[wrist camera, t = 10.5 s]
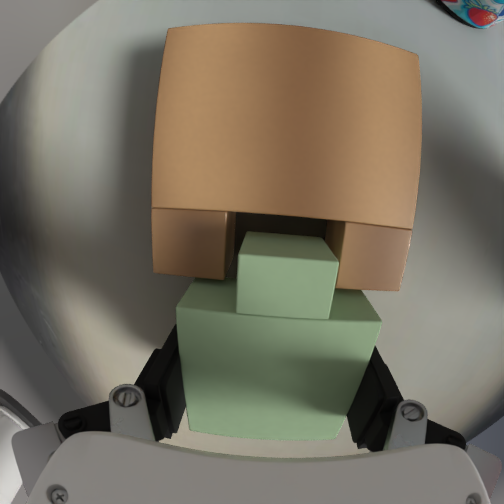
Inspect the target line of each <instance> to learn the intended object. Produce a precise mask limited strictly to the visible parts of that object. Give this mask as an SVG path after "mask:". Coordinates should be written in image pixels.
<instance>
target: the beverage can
mask: <svg viewBox="0 0 504 504" xmlns="http://www.w3.org/2000/svg"><path fill="white" fill-rule="evenodd" d="M436 1H437V2H438V3H439V4H440V5H441V6H442V7H443V8H444V9H445V10H446V11H448V12H449V13H450V14H451V15H452V16H454V17H455V18H456V19H458V20H459V21H461V22H462V23H464V24H466V25H468V26H470V27H473V28H478V29H485V28H489V27H491V26H493V25H495V24H497V23H499V22H501V21H503V20H504V0H436Z"/></svg>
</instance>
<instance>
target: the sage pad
mask: <svg viewBox="0 0 504 504" xmlns="http://www.w3.org/2000/svg"><path fill="white" fill-rule="evenodd" d="M338 266H339V261H338V260H337V258H336V257H335V256H334V254H333V253H332V251H331V250H330V249H329V247H328V246H327V244H326V243H325V242H324V240H323V239H322V238H321V237H311V236H299V235H287V234H275V233H263V232H249V231H248V232H247V233H246V235H245V238H244V240H243V243H242V246H241V249H240V251H239V254H238V266H237V278H226V277H225V279H224V280H218V279H207V278H197V277H195V279H194V280H193V282H192V283H191V285H190V286H189V288H188V289H187V291H186V292H185V294H184V295H183V297H182V298H181V300H180V301H179V303H178V305H177V306H176V322H177V334H178V345H179V354H180V362H181V371H182V379H183V387H184V394H185V401H186V410H187V416H188V423H189V429H190V430H191V431H196V432H202V433H208V434H215V435H222V436H230V437H239V438H251V439H265V440H330V439H335V438H336V436H337V434H338V432H339V430H340V428H341V426H342V424H343V422H344V420H345V418H346V416H347V413H348V411H349V409H350V407H351V404H352V402H353V400H354V397H355V395H356V393H357V390H358V388H359V386H360V383H361V381H362V378H363V376H364V373H365V370H366V368H367V366H368V363H369V360H370V358H371V355H372V352H373V349H374V346H375V343H376V340H377V337H378V334H379V331H380V328H381V325H382V320H381V319H380V317H379V316H378V314H377V313H376V311H375V310H374V308H373V307H372V305H371V304H370V302H369V301H368V299H367V298H366V296H365V295H364V293H363V292H362V291H361V290H357V289H338V288H335V283H336V278H337V272H338Z"/></svg>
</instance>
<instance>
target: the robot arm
mask: <svg viewBox="0 0 504 504" xmlns="http://www.w3.org/2000/svg"><path fill="white" fill-rule="evenodd" d="M185 407H186V401H185V394H184V387H183V379H182V371H181V362H180V354H179V345H178V334H177V324H175V326H174V328H173V329H172V331H171V333H170V335H169V336H168V338H167V340H166V342H165V343H164V345H163V347H162V349H155V350H154V351H153V353H152V355H151V356H150V358H149V360H148V361H147V363H146V365H145V366H144V368H143V370H142V372H141V373H140V375H139V377H138V378H137V380H136V382H135V384H134V385H132V384H123V385H119V386H117V387H115V388H114V389H113V390H112V391H111V392H110V394H109V401H106V402H102V403H99V404H95V405H92V406H88V407H85V408H81V409H77V410H74V411H69V412H67V413H65V414H63V415H62V416H61V417H60V419H59V422H58V423H56V424H54V423H53V422H49V423H46V424H42V425H39V426H36V427H32V428H30V427H29V426H28V425H27V424H26V423H25V422H24V421H23V420H21V419H20V418H19V417H18V416H17V415H16V414H15V413H13V412H12V411H11V410H9V409H8V408H6V407H4V406H0V504H11V502H12V501H13V499H14V497H15V495H16V494H17V492H18V490H19V488H20V487H21V485H22V483H23V484H24V487H25V490H26V492H27V495H28V500H27V502H26V504H491V503H490V497H491V495H492V493H493V490H494V488H495V485H496V483H497V480H498V477H499V474H500V471H501V467H502V464H501V461H500V459H499V458H498V457H496V456H494V455H492V454H490V453H488V452H486V451H484V450H482V449H480V448H478V447H476V446H474V445H472V444H469V445H468V446H467V445H466V441H465V439H464V437H463V436H462V435H461V434H460V433H458V432H456V431H453V430H451V429H449V428H446V427H444V426H442V425H440V424H437V423H435V422H433V421H431V420H429V419H427V416H428V414H427V410H426V408H425V406H424V405H423V404H421V403H420V402H418V401H415V400H404V399H403V397H402V395H401V393H400V391H399V389H398V387H397V385H396V383H395V381H394V379H393V377H392V375H391V373H390V371H389V369H388V367H387V365H386V364H384V362H383V360H382V358H381V356H380V354H379V352H378V350H377V348H376V346H374V349H373V352H372V355H371V358H370V360H369V363H368V366H367V368H366V370H365V373H364V376H363V378H362V381H361V383H360V386H359V388H358V390H357V393H356V395H355V397H354V400H353V402H352V404H351V407H350V409H349V411H348V413H347V419H348V423H349V427H350V431H351V436H352V440H353V442H354V443H357V447H358V449H361V448H367V449H368V450H370V452H369V453H364V454H356V455H347V456H335V457H319V458H267V457H250V456H239V455H229V454H221V453H213V452H206V451H200V450H194V449H189V448H184V447H178V446H173V445H169V444H164V443H160V442H159V440H162V439H164V437H165V438H169V439H171V436H172V433H177V431H178V428H179V425H180V422H181V419H182V416H183V413H184V410H185Z"/></svg>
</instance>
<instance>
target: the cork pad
mask: <svg viewBox="0 0 504 504" xmlns="http://www.w3.org/2000/svg"><path fill="white" fill-rule="evenodd" d="M421 141H422V99H421V80H420V68H419V58H418V55H417V54H415V53H412V52H409V51H406V50H403V49H400V48H397V47H394V46H391V45H388V44H385V43H381V42H378V41H374V40H370V39H367V38H363V37H358V36H354V35H350V34H345V33H340V32H335V31H329V30H323V29H317V28H310V27H302V26H293V25H282V24H265V23H220V24H204V25H193V26H183V27H176V28H169V29H168V31H167V36H166V41H165V47H164V53H163V59H162V65H161V72H160V79H159V87H158V95H157V104H156V114H155V126H154V139H153V157H152V187H151V206H152V207H153V208H152V209H151V229H152V257H153V272H154V273H158V274H168V275H177V276H187V277H197V278H207V279H218V280H224V279H225V277H226V274H227V272H228V269H229V267H230V264H231V262H232V259H233V257H234V244H235V224H236V212H246V213H260V214H273V215H285V216H296V217H307V218H318V219H328V220H327V228H326V236H325V243H326V244H327V246H328V247H329V249H330V250H331V251H332V253H333V254H334V256H335V257H336V258H337V260H338V261H339V266H338V272H337V278H336V283H335V288H338V289H357V290H379V291H399V290H400V286H401V282H402V278H403V274H404V270H405V265H406V261H407V256H408V251H409V246H410V241H411V236H412V230H411V229H412V228H413V223H414V217H415V210H416V202H417V194H418V185H419V174H420V161H421Z"/></svg>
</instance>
